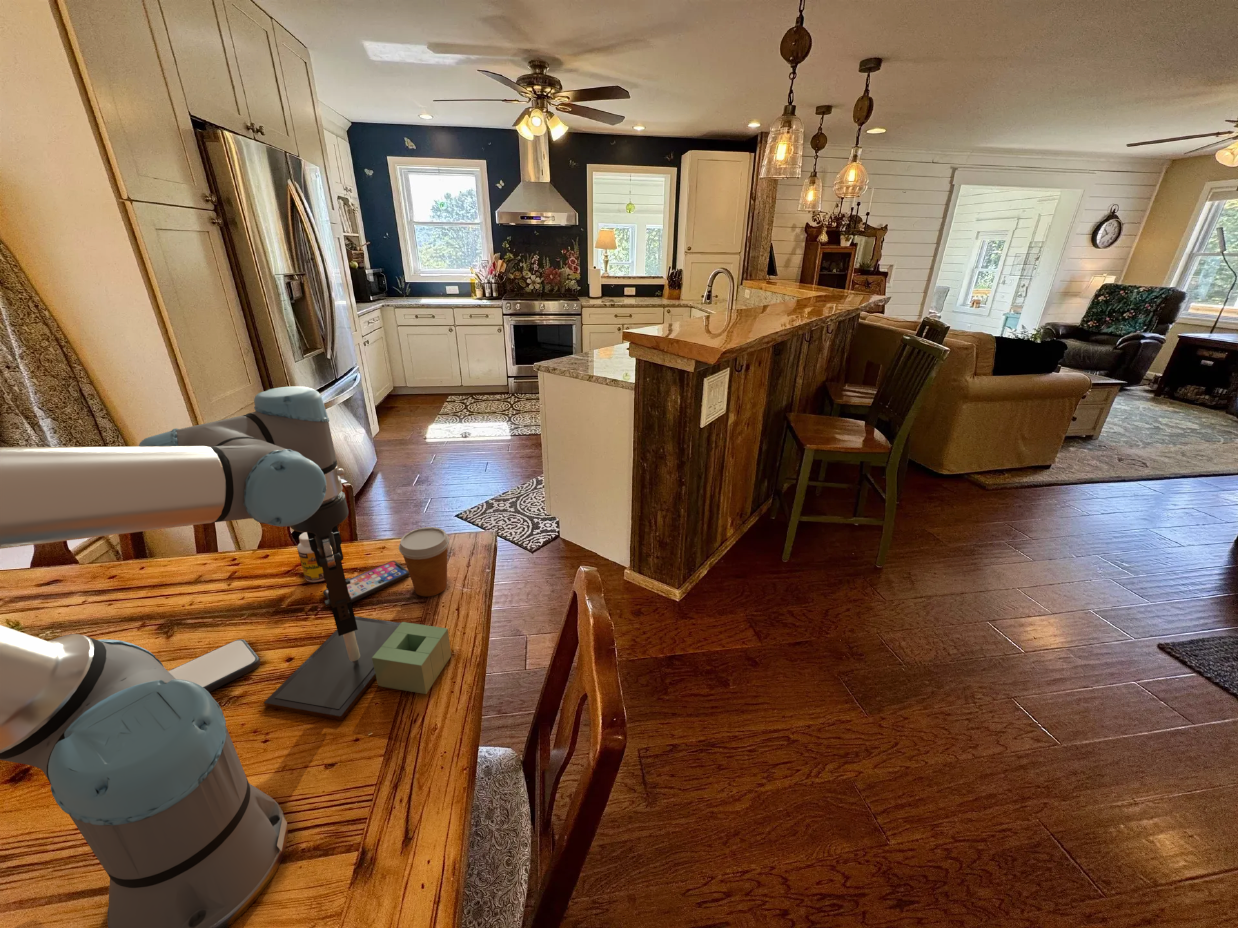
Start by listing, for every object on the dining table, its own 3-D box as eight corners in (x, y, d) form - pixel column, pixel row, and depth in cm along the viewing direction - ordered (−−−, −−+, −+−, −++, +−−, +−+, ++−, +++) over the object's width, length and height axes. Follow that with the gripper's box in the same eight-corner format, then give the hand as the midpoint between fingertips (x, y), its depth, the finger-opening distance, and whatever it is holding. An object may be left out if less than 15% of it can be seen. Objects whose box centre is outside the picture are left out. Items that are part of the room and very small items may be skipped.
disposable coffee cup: (464, 578, 106) (458, 530, 101) (436, 606, 97) (428, 555, 92) (426, 569, 108) (419, 522, 103) (396, 595, 100) (386, 545, 95)
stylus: (357, 666, 81) (338, 592, 75) (348, 665, 81) (329, 591, 75) (363, 659, 83) (345, 586, 77) (354, 657, 83) (336, 584, 77)
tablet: (341, 721, 73) (340, 715, 73) (265, 707, 75) (263, 701, 74) (415, 628, 91) (414, 624, 91) (351, 619, 93) (350, 614, 93)
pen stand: (426, 694, 78) (421, 665, 75) (378, 686, 79) (371, 657, 77) (451, 655, 85) (447, 628, 83) (407, 648, 87) (402, 621, 84)
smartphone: (321, 590, 99) (393, 559, 110) (322, 594, 100) (394, 562, 110) (337, 606, 95) (410, 572, 105) (338, 610, 95) (411, 575, 106)
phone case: (244, 643, 87) (122, 699, 75) (242, 635, 87) (118, 692, 75) (263, 667, 82) (135, 732, 71) (261, 659, 82) (132, 724, 70)
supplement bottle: (299, 583, 103) (288, 541, 99) (314, 567, 108) (303, 527, 104) (326, 583, 103) (316, 541, 99) (340, 568, 108) (330, 527, 104)
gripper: (351, 510, 66) (381, 645, 75) (336, 472, 77) (364, 594, 86) (286, 526, 62) (326, 666, 71) (279, 484, 73) (315, 610, 82)
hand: (346, 627), depth 79 cm, fingers closed on stylus, 1 cm apart
